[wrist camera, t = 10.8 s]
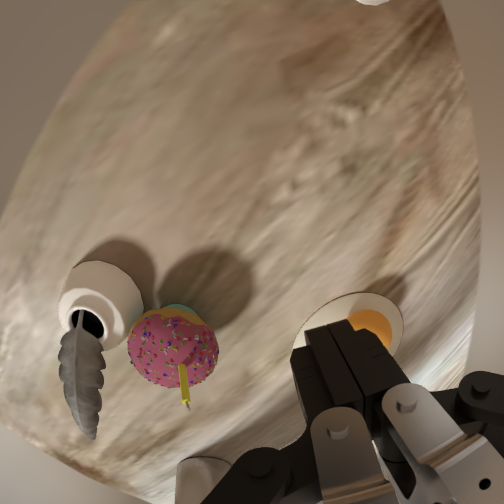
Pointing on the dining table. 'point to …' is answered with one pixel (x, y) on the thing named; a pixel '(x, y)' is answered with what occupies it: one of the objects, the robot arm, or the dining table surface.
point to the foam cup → (372, 2)
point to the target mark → (348, 307)
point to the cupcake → (173, 348)
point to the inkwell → (93, 333)
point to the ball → (373, 324)
